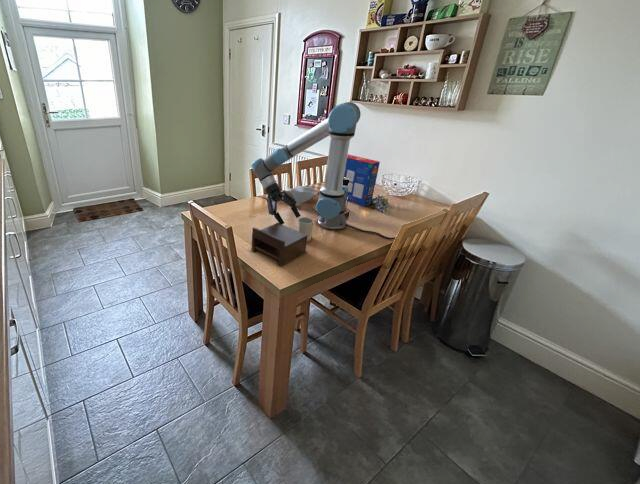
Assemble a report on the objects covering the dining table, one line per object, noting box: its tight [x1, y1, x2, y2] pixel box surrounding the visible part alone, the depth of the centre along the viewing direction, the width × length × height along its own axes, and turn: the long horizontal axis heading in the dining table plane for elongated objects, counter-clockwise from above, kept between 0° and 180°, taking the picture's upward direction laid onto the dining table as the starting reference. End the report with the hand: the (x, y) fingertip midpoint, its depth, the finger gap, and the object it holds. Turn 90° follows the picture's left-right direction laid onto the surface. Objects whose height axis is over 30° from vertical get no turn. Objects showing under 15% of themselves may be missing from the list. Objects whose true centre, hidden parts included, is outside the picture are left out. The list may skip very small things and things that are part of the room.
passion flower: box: [370, 193, 390, 213], centre depth 201 cm, size 11×11×12 cm
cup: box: [296, 216, 314, 242], centre depth 164 cm, size 8×8×10 cm
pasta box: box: [344, 154, 381, 208], centre depth 213 cm, size 28×8×28 cm, turn 39°
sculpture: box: [284, 185, 320, 207], centre depth 213 cm, size 25×19×10 cm
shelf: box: [251, 222, 308, 267], centre depth 151 cm, size 18×18×12 cm
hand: (290, 220), depth 170 cm, fingers open, 13 cm apart
